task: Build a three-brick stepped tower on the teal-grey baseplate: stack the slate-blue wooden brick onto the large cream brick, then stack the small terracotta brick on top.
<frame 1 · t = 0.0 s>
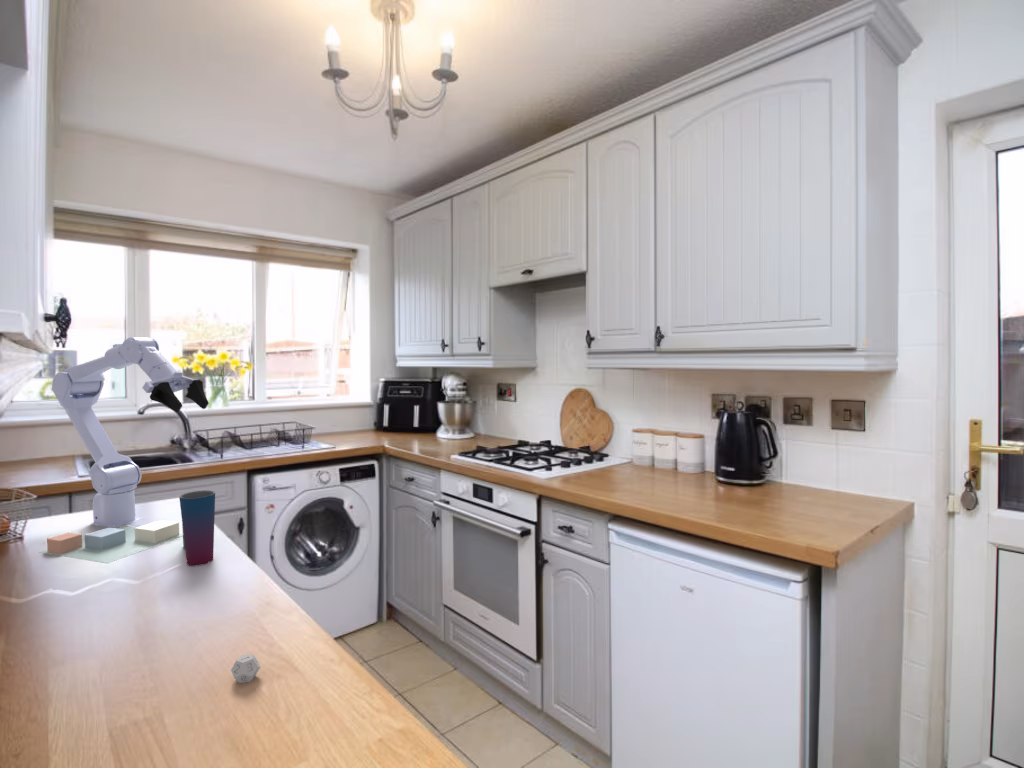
hand: (193, 407, 134), 32 cm above the worktop, tool tilted 50°, fingers open, 7 cm apart
brick A: (157, 537, 132), point 1 cm above the worktop, touching baseplate
brick C: (65, 549, 124), point 1 cm above the worktop, touching baseplate
brick B: (105, 544, 127), point 1 cm above the worktop, touching baseplate
cup: (200, 562, 118), on the worktop
baseplate: (115, 545, 128), on the worktop
game die: (246, 680, 75), on the worktop
soda can: (196, 548, 126), on the worktop
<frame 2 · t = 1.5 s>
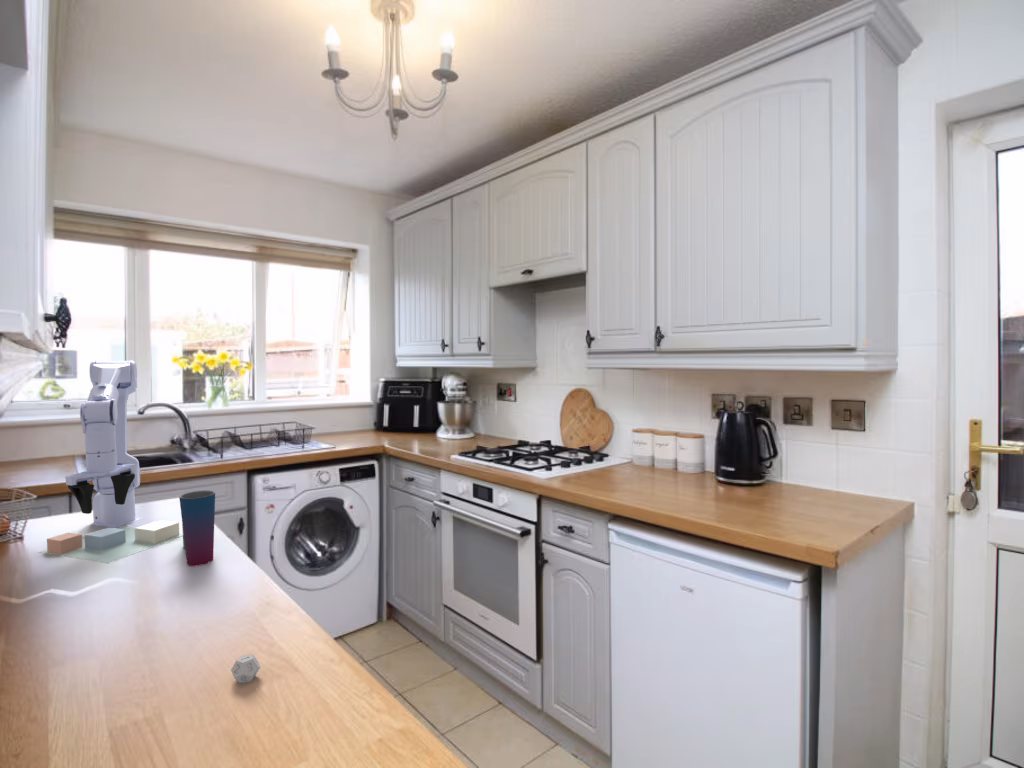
hand: (104, 508, 126), 9 cm above the worktop, tool pointing down, fingers open, 7 cm apart
nothing on the worktop moved.
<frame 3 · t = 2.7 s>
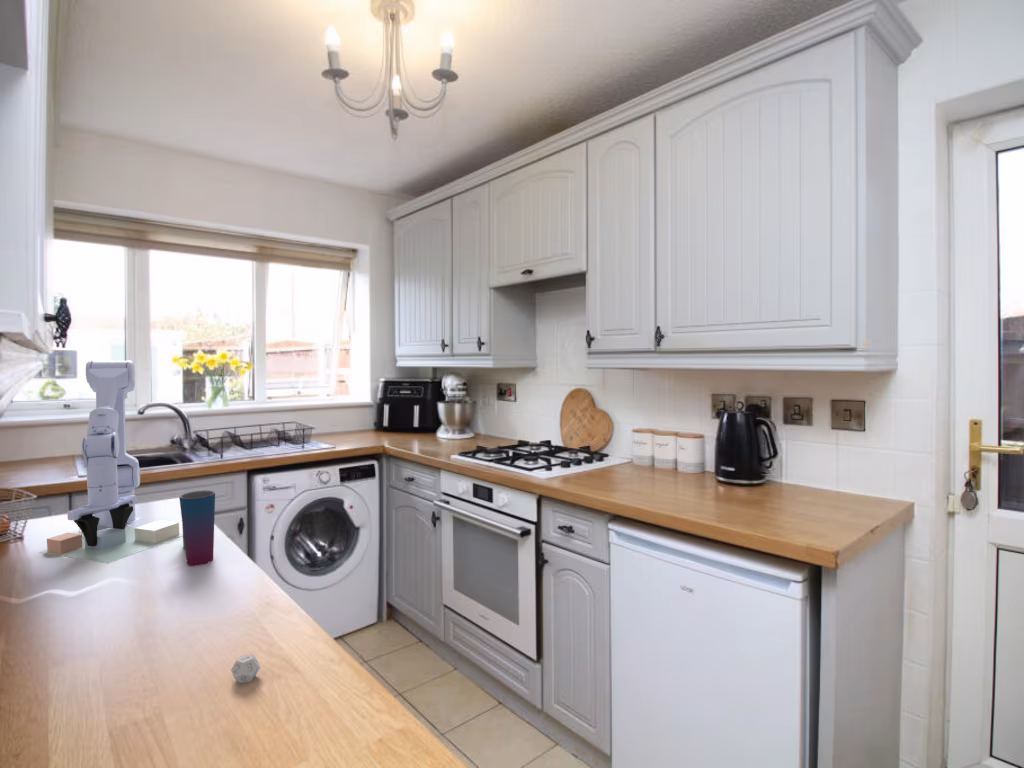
hand: (105, 541, 127), 1 cm above the worktop, tool pointing down, fingers closed on brick B, 5 cm apart
brick B: (105, 544, 127), point 1 cm above the worktop, touching baseplate, gripper
everything else where it was.
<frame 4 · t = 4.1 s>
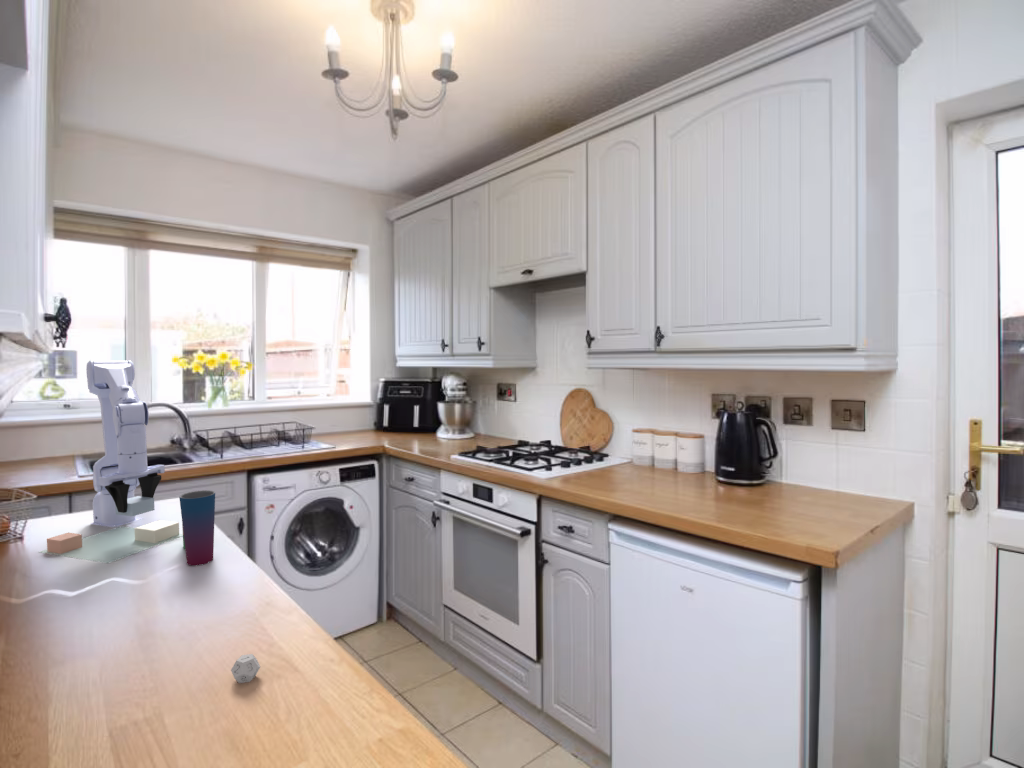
hand: (135, 508, 129), 8 cm above the worktop, tool pointing down, fingers closed on brick B, 5 cm apart
brick B: (135, 512, 129), point 8 cm above the worktop, touching gripper
everything else where it was.
when the fingers open (5 cm above the worktop, at t = 5.5 s): brick B stays where it is, resting on brick A.
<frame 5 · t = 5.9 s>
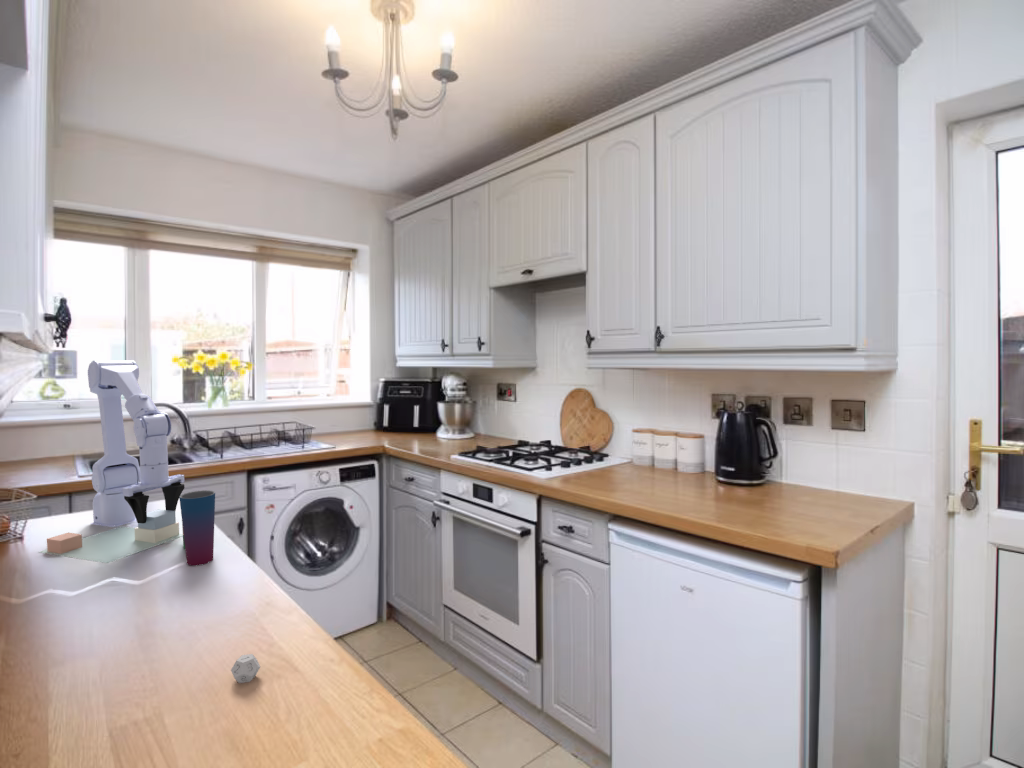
hand: (156, 518, 132), 5 cm above the worktop, tool pointing down, fingers open, 7 cm apart
brick A: (157, 537, 132), point 1 cm above the worktop, touching baseplate, brick B
brick B: (157, 525, 132), point 4 cm above the worktop, touching brick A
everything else where it was.
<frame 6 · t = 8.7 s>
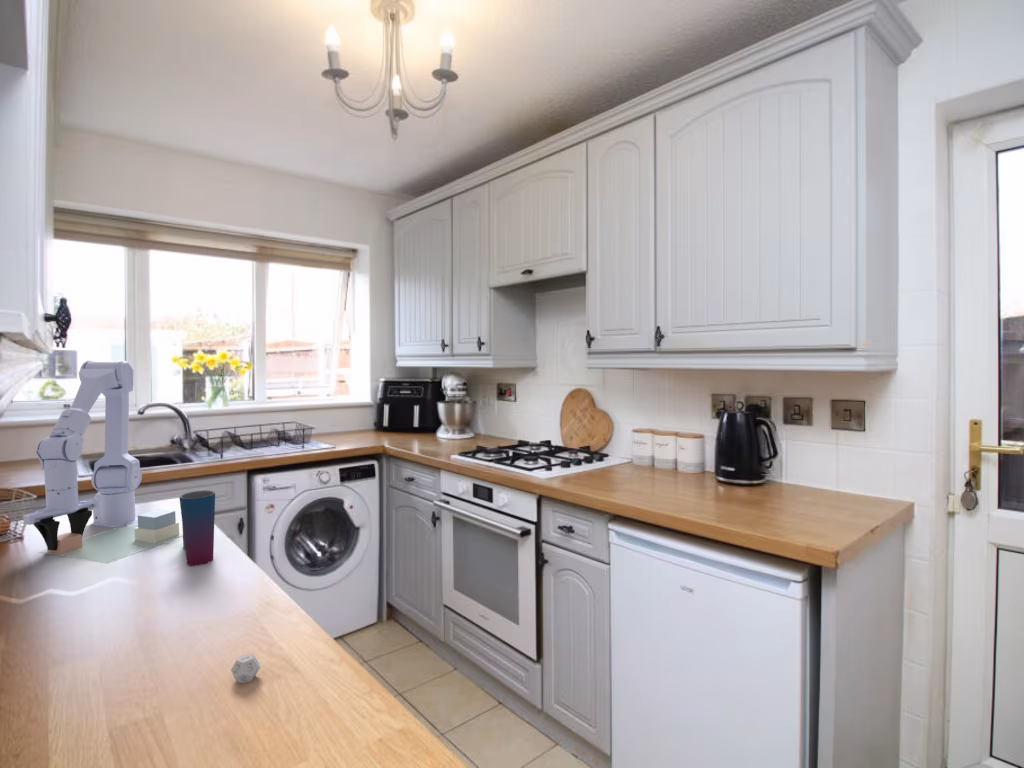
hand: (64, 545, 124), 1 cm above the worktop, tool pointing down, fingers closed on brick C, 4 cm apart
brick C: (65, 549, 124), point 1 cm above the worktop, touching baseplate, gripper
everything else where it was.
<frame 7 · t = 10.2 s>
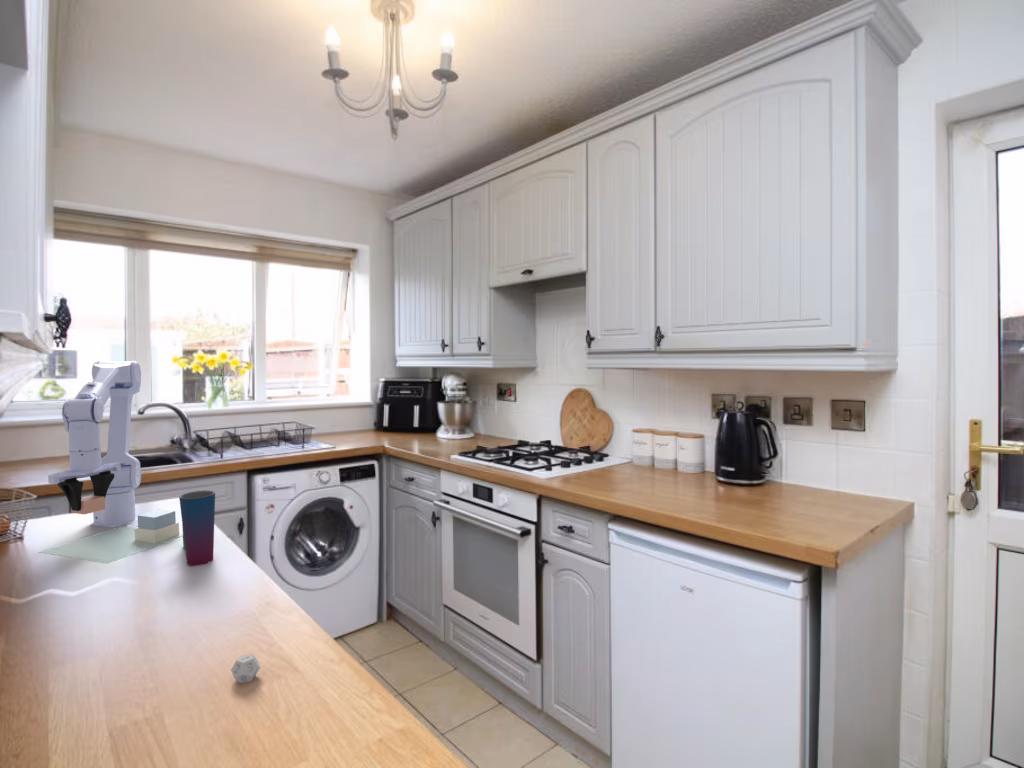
hand: (88, 507, 126), 10 cm above the worktop, tool pointing down, fingers closed on brick C, 4 cm apart
brick C: (88, 510, 126), point 9 cm above the worktop, touching gripper
everything else where it was.
when the fingers open (8 cm above the worktop, at t = 11.8 s): brick C stays where it is, resting on brick B.
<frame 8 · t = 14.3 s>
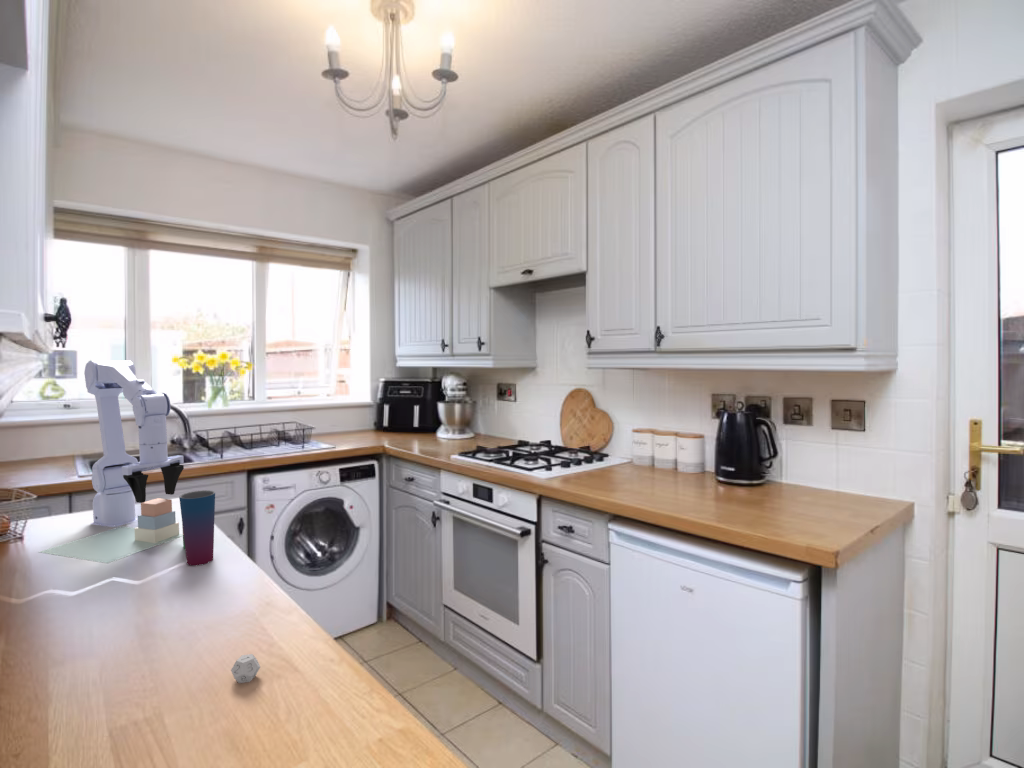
hand: (155, 498, 131), 10 cm above the worktop, tool pointing down, fingers open, 7 cm apart
brick C: (156, 513, 132), point 7 cm above the worktop, touching brick B
brick B: (157, 525, 132), point 4 cm above the worktop, touching brick A, brick C
everything else where it was.
at the end: brick B 0.1 cm off-centre on the brick A, point 3.0 cm above the brick A's base; brick C 0.1 cm off-centre on the brick B, point 3.0 cm above the brick B's base; brick C tilted 0° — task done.
